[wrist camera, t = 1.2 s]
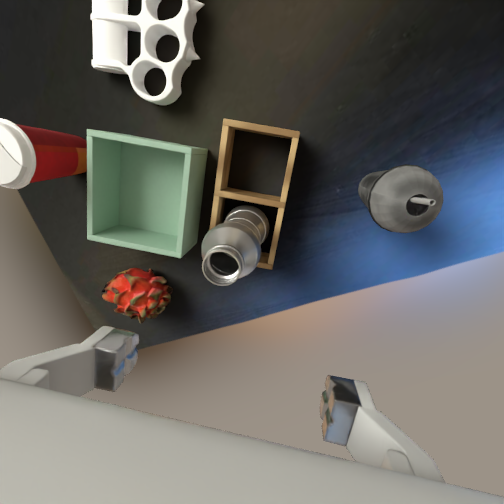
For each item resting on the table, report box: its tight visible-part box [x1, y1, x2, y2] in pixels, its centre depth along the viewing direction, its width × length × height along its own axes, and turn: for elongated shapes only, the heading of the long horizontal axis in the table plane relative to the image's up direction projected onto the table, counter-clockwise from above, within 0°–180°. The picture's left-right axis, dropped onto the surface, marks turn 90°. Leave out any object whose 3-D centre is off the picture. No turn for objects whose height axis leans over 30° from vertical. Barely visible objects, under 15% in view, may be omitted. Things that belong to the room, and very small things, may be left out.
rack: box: [209, 119, 300, 270], centre depth 43 cm, size 19×10×5 cm, turn 170°
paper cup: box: [0, 118, 87, 189], centre depth 40 cm, size 8×8×14 cm
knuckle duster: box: [91, 0, 205, 105], centre depth 39 cm, size 3×18×15 cm
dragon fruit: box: [102, 268, 173, 323], centre depth 49 cm, size 8×8×12 cm
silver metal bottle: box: [202, 205, 269, 286], centre depth 38 cm, size 6×7×20 cm
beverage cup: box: [358, 164, 443, 233], centre depth 34 cm, size 7×7×20 cm
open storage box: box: [87, 129, 208, 258], centre depth 44 cm, size 15×14×8 cm
